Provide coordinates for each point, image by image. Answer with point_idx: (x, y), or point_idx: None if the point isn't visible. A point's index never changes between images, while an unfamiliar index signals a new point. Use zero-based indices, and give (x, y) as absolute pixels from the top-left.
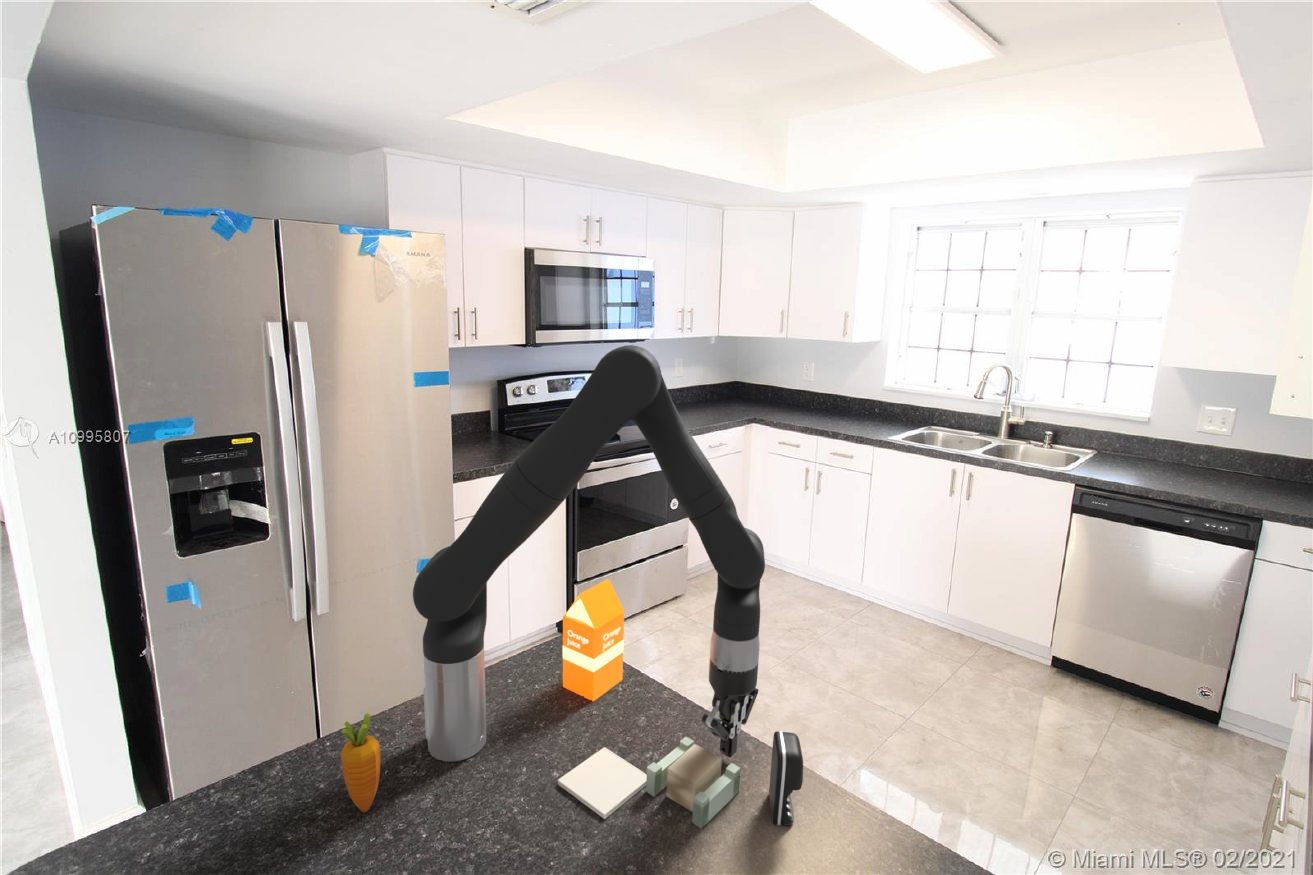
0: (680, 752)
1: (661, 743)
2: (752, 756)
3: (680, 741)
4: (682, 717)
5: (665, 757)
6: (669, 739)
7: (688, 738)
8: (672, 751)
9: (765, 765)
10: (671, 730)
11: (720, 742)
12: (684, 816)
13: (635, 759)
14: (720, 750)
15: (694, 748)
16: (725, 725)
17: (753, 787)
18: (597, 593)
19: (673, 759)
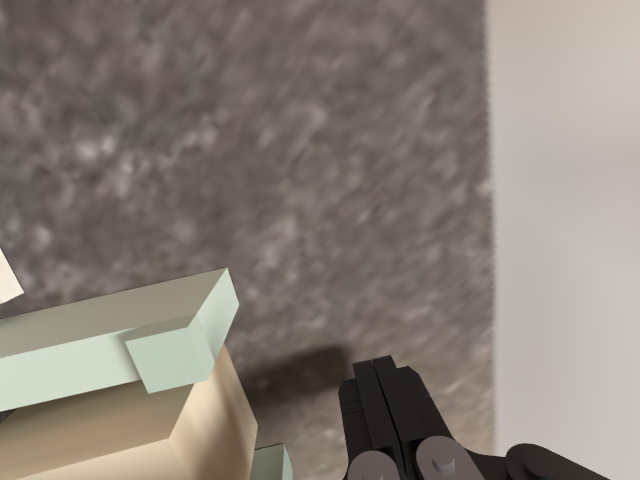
0: (110, 373)
1: (191, 120)
2: (454, 383)
3: (128, 344)
4: (411, 11)
5: (6, 362)
6: (243, 120)
7: (192, 346)
8: (71, 345)
9: (452, 430)
10: (293, 67)
11: (344, 425)
12: None
13: (13, 140)
14: (339, 391)
15: (144, 464)
16: (420, 475)
17: (345, 474)
18: None
19: (47, 391)
